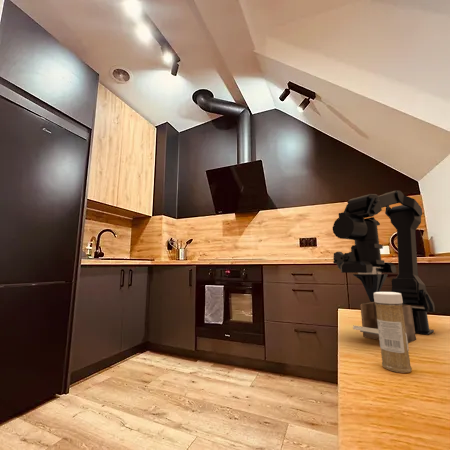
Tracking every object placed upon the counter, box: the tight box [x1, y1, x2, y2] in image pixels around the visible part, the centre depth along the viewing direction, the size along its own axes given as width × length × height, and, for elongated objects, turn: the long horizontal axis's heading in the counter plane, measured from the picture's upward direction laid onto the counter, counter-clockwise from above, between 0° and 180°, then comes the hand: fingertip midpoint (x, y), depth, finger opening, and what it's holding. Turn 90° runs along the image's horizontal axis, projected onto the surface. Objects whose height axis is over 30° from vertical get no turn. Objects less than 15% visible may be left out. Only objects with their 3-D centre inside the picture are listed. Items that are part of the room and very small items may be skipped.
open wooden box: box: [359, 301, 417, 344], centre depth 66 cm, size 8×10×8 cm
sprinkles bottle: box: [374, 291, 413, 374], centre depth 46 cm, size 5×5×14 cm
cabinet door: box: [352, 325, 379, 335], centre depth 62 cm, size 1×8×7 cm
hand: (373, 301), depth 63 cm, fingers closed
